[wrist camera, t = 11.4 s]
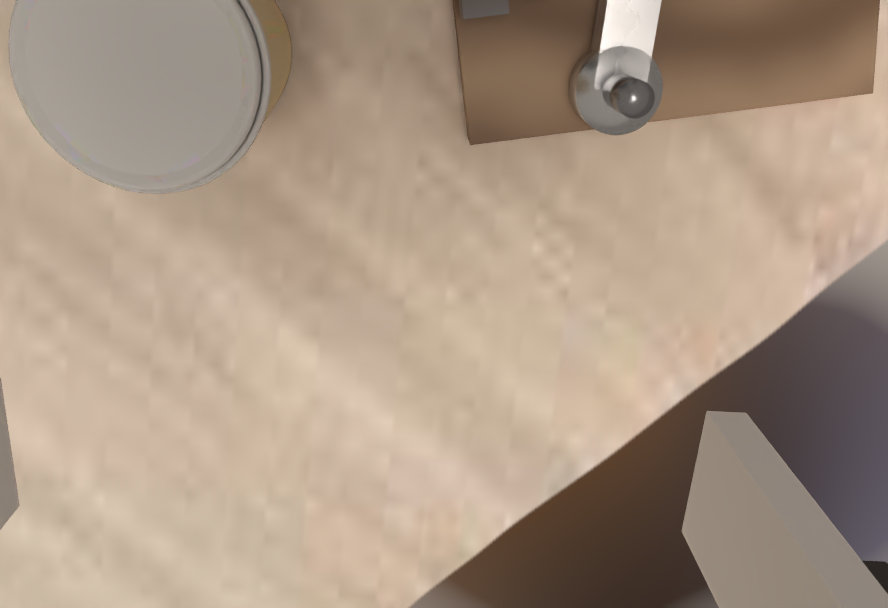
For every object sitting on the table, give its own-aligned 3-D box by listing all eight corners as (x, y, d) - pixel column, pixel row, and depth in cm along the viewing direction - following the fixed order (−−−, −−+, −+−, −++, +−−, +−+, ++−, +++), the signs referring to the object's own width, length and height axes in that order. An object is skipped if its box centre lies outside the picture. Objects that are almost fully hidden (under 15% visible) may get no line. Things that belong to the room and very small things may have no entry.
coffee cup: (109, 118, 41) (-8, 166, 29) (129, -79, 37) (4, -109, 26) (291, 161, 42) (244, 223, 31) (325, -26, 38) (287, -34, 27)
